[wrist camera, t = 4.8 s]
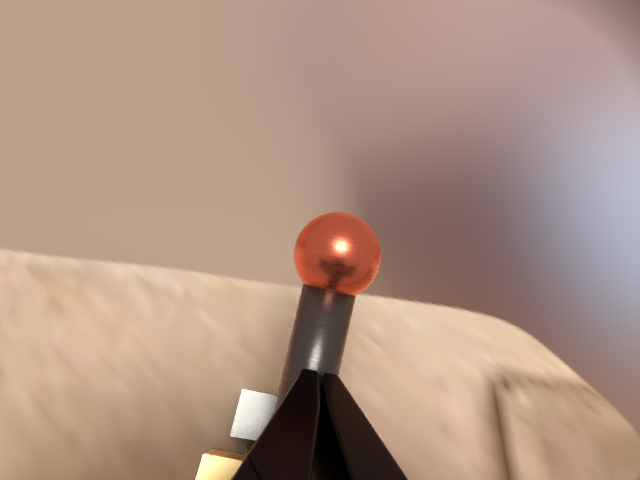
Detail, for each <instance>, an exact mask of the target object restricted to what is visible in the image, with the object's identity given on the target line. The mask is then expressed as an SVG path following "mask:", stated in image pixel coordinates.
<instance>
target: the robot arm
mask: <svg viewBox="0 0 640 480" xmlns="http://www.w3.org/2000/svg"><path fill="white" fill-rule="evenodd" d="M231 480H408V479H407V477H406V476H405V474H404V473H403V471H402V470H401V468H400V467H399V465H398V464H397V463H396V461H395V460H394V458H393V457H392V455H391V454H390V452H389V451H388V449H387V448H386V446H385V445H384V443H383V442H382V440H381V439H380V437H379V436H378V434H377V433H376V431H375V430H374V428H373V427H372V425H371V424H370V422H369V421H368V419H367V418H366V416H365V415H364V414H363V412H362V411H361V409H360V408H359V406H358V405H357V403H356V402H355V400H354V399H353V397H352V396H351V394H350V393H349V391H348V390H347V388H346V387H345V385H344V384H343V382H342V381H341V379H340V378H339V376H338V375H336V374H331V373H326V372H324V373H322V375H321V377H320V381H319V379H318V372H317V371H316V370H311V369H306V368H303V369H302V370H301V372H300V373H299V375H298V376H297V378H296V380H295V381H294V383H293V384H292V386H291V387H290V389H289V390H288V392H287V394H286V395H285V397H284V398H283V400H282V401H281V403H280V405H279V406H278V408H277V409H276V411H275V412H274V414H273V415H272V417H271V419H270V420H269V422H268V423H267V425H266V426H265V428H264V429H263V431H262V433H261V434H260V436H259V437H258V439H257V440H256V442H255V444H254V445H253V447H252V448H251V450H250V451H249V453H248V454H247V456H246V458H245V459H244V460H243V462H242V463H241V465H240V466H239V468H238V470H237V471H236V473H235V474H234V476H233V477H232V478H231Z"/></svg>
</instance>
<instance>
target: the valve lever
mask: <svg viewBox="0 0 640 480" xmlns="http://www.w3.org/2000/svg"><path fill="white" fill-rule="evenodd" d="M380 261H381V251H380V245H379V242H378V240H377V237H376V235H375V233H374V232H373V230H372V229H371V228H370V226H368V225H367V224H366V223H365V222H364V221H363V220H361V219H360V218H358V217H356V216H354V215H351V214H347V213H341V212H333V213H327V214H324V215H321V216H319V217H317V218H315V219H313V220H312V221H311V222H309V223H308V224H307V225H306V226H305V228H304V229H303V230H302V231H301V233H300V234H299V236H298V238H297V241H296V244H295V248H294V263H295V268H296V270H297V273H298V275H299V277H300V279H301V280H302V282H303V287H302V292H301V296H300V300H299V305H298V309H297V313H296V318H295V322H294V326H293V331H292V335H291V339H290V344H289V348H288V352H287V356H286V361H285V365H284V369H283V374H282V378H281V382H280V387H279V391H278V395H277V400H276V404H275V408H274V412H275V411H276V409H277V408H278V406H279V405H280V403H281V401H282V400H283V398H284V397H285V395H286V394H287V392H288V390H289V389H290V387H291V386H292V384H293V383H294V381H295V380H296V378H297V376H298V375H299V373H300V372H301V370H302V369H303V368H306V369H311V370H316V371H317V372H318V379H319V381H320V377H321V375H322V373H324V372H326V373H331V374H336V375H338V374H339V370H340V365H341V361H342V356H343V352H344V347H345V342H346V338H347V333H348V329H349V324H350V320H351V315H352V310H353V306H354V301H355V297H356V295H357V294H359V293H361V292H362V291H364V290H365V289H366V288H367V287H368V286H369V285H370V284H371V283H372V282H373V280H374V279H375V277H376V275H377V273H378V270H379V267H380ZM273 414H274V413H273Z"/></svg>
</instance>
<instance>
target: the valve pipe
mask: <svg viewBox="0 0 640 480" xmlns="http://www.w3.org/2000/svg"><path fill="white" fill-rule="evenodd" d="M276 400H277V396H276V395H271V394H266V393H261V392H256V391H251V390H245V389H242V391H241V395H240V399H239V403H238V407H237V411H236V414H235V418H234V422H233V426H232V430H231V434H230V436H233V437H238V438H244V439H248V443H247V447H246V452H245V454H240V453H234V452H228V451H223V450H217V449H211V450H209V451H207V452H205V453H204V454H203V456H202V460H201V463H200V466H199V470H198V473H197V477H196V480H231V478H232V477H233V476H234V474H235V473H236V471H237V470H238V468H239V466H240V465H241V463H242V462H243V460H244V459H245V458H246V456H247V454H248V453H249V451H250V450H251V448H252V447H253V445H254V444H255V442H256V440H257V439H258V437H259V436H260V434H261V433H262V431H263V429H264V428H265V426H266V425H267V423H268V422H269V420H270V419H271V417H272V415H273V413H274V408H275V404H276Z"/></svg>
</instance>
